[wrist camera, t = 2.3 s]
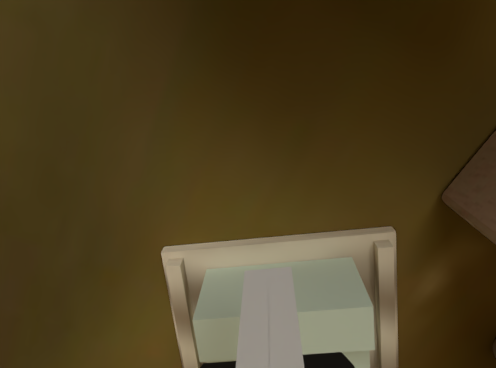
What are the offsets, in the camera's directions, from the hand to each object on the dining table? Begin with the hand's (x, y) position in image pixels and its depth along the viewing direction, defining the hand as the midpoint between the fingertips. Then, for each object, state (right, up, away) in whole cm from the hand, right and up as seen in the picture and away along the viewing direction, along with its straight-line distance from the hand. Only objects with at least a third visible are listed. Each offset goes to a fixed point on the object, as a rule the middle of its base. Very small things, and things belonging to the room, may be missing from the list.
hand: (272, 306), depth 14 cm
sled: (+2, -7, +17) cm, 18 cm away
